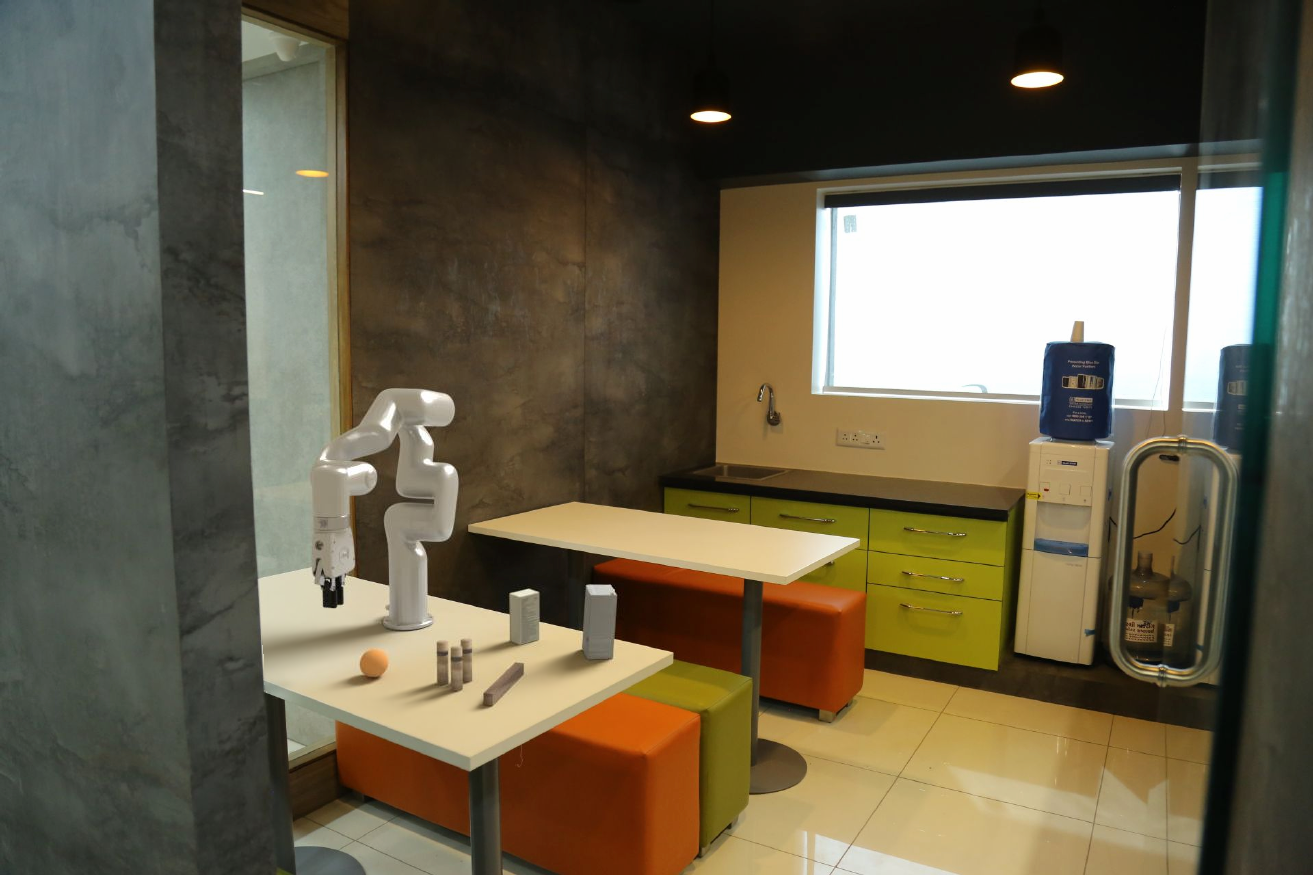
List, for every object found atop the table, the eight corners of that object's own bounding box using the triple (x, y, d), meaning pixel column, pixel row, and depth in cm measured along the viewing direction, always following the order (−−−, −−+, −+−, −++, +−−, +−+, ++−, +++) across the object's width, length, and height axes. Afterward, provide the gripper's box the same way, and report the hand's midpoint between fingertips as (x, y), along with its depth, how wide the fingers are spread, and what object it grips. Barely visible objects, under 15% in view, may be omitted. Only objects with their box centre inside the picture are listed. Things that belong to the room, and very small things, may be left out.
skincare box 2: (581, 648, 211) (581, 584, 209) (610, 646, 212) (611, 582, 211) (586, 660, 203) (587, 593, 201) (617, 658, 204) (617, 592, 203)
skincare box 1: (529, 635, 220) (529, 588, 219) (540, 639, 217) (540, 591, 216) (508, 641, 216) (508, 592, 214) (519, 645, 212) (519, 596, 211)
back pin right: (448, 689, 185) (448, 647, 184) (458, 685, 186) (457, 644, 186) (455, 692, 183) (455, 650, 182) (465, 688, 185) (464, 647, 184)
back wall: (483, 704, 177) (483, 692, 176) (515, 673, 194) (515, 662, 194) (492, 705, 176) (492, 693, 176) (523, 673, 194) (523, 662, 194)
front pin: (434, 682, 188) (434, 642, 187) (444, 679, 190) (443, 639, 189) (441, 685, 186) (440, 644, 185) (450, 682, 188) (450, 641, 187)
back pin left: (458, 680, 189) (458, 639, 189) (467, 677, 191) (467, 637, 190) (465, 683, 188) (465, 642, 187) (474, 680, 190) (474, 639, 189)
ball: (354, 676, 191) (354, 649, 190) (379, 669, 195) (378, 643, 195) (369, 683, 187) (368, 656, 186) (394, 676, 191) (393, 649, 191)
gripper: (326, 531, 181) (328, 617, 183) (366, 517, 197) (367, 597, 199) (294, 529, 183) (296, 615, 185) (336, 515, 198) (337, 595, 200)
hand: (333, 605), depth 192 cm, fingers closed
